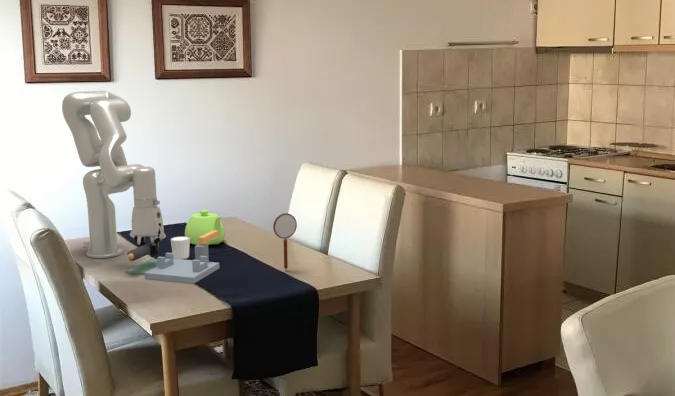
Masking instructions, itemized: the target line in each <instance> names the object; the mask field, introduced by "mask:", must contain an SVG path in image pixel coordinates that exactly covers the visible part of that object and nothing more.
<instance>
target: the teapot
mask: <svg viewBox="0 0 675 396" xmlns="http://www.w3.org/2000/svg"><path fill="white" fill-rule="evenodd" d="M199 212H200V213H199ZM199 212H198V213H197V212H195V213H192V214H191V215H190V217H189V219H188V221H187V223H186V225H185V229H184V237H189V238H190V244H192V245H195V246H196V245H198V244H199V240H198V237H200V236H202V235H204V234H206V233H209V232H211V231H213V230H217V231H218V234H219V237H218V238H216V239H214V240H212V241H210V242H208V243H206V244H208V246H210V245H220V243H222V242H223V240H224V239H225V238H226V230H225V227H224V224H223V221H222V220H221V219H222V218H223V216H218V214H216V213H213V212H209V210H208V209H202V210H199Z"/></svg>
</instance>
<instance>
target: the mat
mask: <svg viewBox="0 0 675 396" xmlns="http://www.w3.org/2000/svg"><path fill="white" fill-rule="evenodd" d="M157 266H158V262H157V258H150V259H148V260H146V261H144V262H141V263H139V264H138V265H135V266H133V267H131V268H129V269H127V270H125V273H127V274H135V275H144V276H145V273H146V272H147V271H149V270H151V269H153V268H155V267H157Z"/></svg>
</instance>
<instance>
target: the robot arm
mask: <svg viewBox="0 0 675 396" xmlns="http://www.w3.org/2000/svg"><path fill="white" fill-rule="evenodd" d="M61 109H62V116H63V118H64V121H65V123H66V125H67V127H68V128H69V130H70V132H71V134H72V137H73V140H74V144H75V145H74V146H75V148H76V151H77V154H78V158H79V160H80V162H81V164H82V165H83V166H84V167H85V168H96V167H99V168H97V169H92V170H90V171H88V172H86V173H85V174H84V176H83V178H82V186H83V190H84V194H85V198H86V205H87V218H88V232H89V233H88V234H89V241H83V243H82V245H81V246H82V248H84V249H87V251H86V257H88V258H92V259H108V258H113V257H114V258H115V257H117V256H120V255H121V254H122V253H123V249H122V248H120V247H118V236H117V232H118V231H117V219H116V207H115V203H114V202H113V201H112V199H111V198H110V196H109V195H112V194H118V193H123V192H127V191H129V189H130V188H132V187H133V188H132V191H133V207H132V212H131V230H130V233H129V236H130V237H131V238H133V239H134V240H135V242H136V243H137V245H138V247H140V246H142V245H145V244H147V242H146V237H148V238H150V242H151V243H152V245H151V246H150V249H151V253H150V257H152V258H154V257H156V256H158V254H159V249H158V245H157V244H159V243H160V242H161V241H162V240H163V239H165V238H166V237H167V235H166V233H165V231H164V230H165V229H164V221H163V215H162V211H161V208H160V206H158V205H160V204H161V201H160V200H158V198H157V182H156V181H157V180H156V170H155V168H154V167H152V166H144V165H142V164H139V163H134V164H128V161H127V158H126V155H125V152H124V149H123V147H122V145H123V143H125V141H126V140H127V133H126V131H125V129H124V127H123V124H122V123H123V122H128V121H129V120H130V119H131V116H132V110H131V107H130V104H129V103H128V101H127V100H126V99H124V98H122V97H121V96H119V95H116V94H114V93H112V92H109V91H107V90H93V91H84V90H83V91H75V92H71V93H69V94H67V95H65V96H64V98H63V99H62V103H61ZM86 116H90V118H91V120H92V121H91V120H90V119H88V118H87V117H86ZM92 122H93V123H92ZM158 235H159V236H158Z"/></svg>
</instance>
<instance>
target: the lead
mask: <svg viewBox="0 0 675 396" xmlns="http://www.w3.org/2000/svg"><path fill="white" fill-rule="evenodd" d="M151 245H152V243H151V241H149V242H148V243H147V242H146V244H145V245H142V246H140V247H139V246H137V247H136V248H133V249H131V250H129V251H128V252H127V254H126V255H127V256H126V257H127V259H128V260H129V261H131V262H134V261H137V260H139V259H142V258H144V257H146V256H148V255H151V249H150V246H151ZM157 245H158V250H159V249H160V244H159V243H158V244H157Z"/></svg>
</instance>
